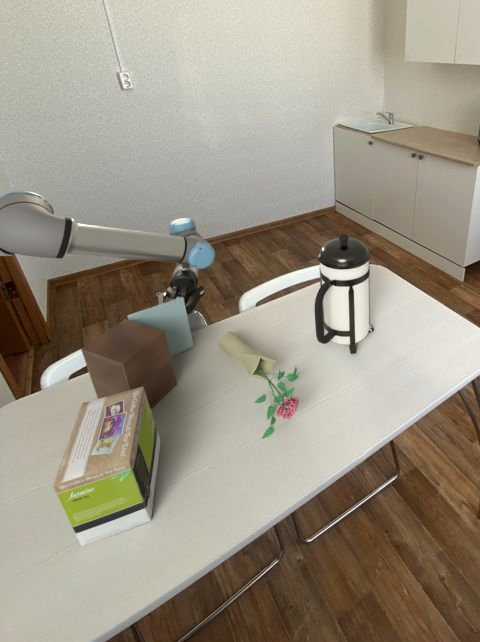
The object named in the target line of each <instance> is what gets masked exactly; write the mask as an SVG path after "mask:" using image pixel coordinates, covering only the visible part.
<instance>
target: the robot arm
mask: <svg viewBox="0 0 480 642" xmlns="http://www.w3.org/2000/svg"><path fill="white" fill-rule="evenodd" d="M168 229H169V230H168V231H169V234H164V233H158V232H149V231H142V230H133V229H125V228H124V229H123V228H117V227H108V226H101V225H94V224H93V225H92V224H84V223H77V222H76V220H75V219H74V218H70V217H63V216H59V215H56V214H55V210H54V208H53V206H52V204H50V202H49V201H48V200H47V199H46V197H44V196H42V195H41V194H39V193H36V192H33V191H30V190H13V191H9V192H7V193H5V194H3V195H1V196H0V257H11V256H13V255H19V256H25V257H27V256H28V257H33V258H34V257H35V258H46V259H59V260H61V259H62V260H63V259H66V258H67V257H69V256H78V257H79V256H81V257H92V258H93V257H94V258H108V259H120V260H121V259H122V260H136V261H147V262H161V263H173V264H174V263H175V268H174V271H173V273H172V276H171V279H170V282H169V286H168V287H167V289H166V290H165V292H163V293H161V292H159V291H158V292H156V293H155V298H156V301H157V305H160V304H163V303H165V302H166V299H167V298H168V300H169V301H172V300H175V299H176V297H180V298H181V297H183V298H184V303H185V307H186V312H187V315H191V314H192V313H193V312H194V310H195V309H196V307H197V305H198V303H199V301H200V300H201V298H202V297H203V296H205V294H206V293H205V288H204V287H205V286H203V285H201V286H199V287H198V284H199V279H200V275H201V272H202V270H205V269H207V268H209V267H211V265H212V264H213V263H214V261H215V259H216V251H215V249H214V247H213V246H212V244H211V243H210V242H208V241H207V240H206V239H204V237H202V235H201V234H200V233H199V232H198V231H197V226H196V224H195V221H194V219H192V218H190V217H181V218H177V219H175V220H173V221H171V222H170V223H169V224H168ZM169 301H168V302H169Z"/></svg>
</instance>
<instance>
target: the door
mask: <svg viewBox="0 0 480 642" xmlns="http://www.w3.org/2000/svg"><path fill="white" fill-rule="evenodd" d="M127 320H130V321H133V322H136V323H140V324H143V325H146V326H149V327H153V328H156V329H159V330H162V331H165V335H166V339H167V343H168V348H169V352H170V356H171V357H173V356H174V355H177V354H179V353H182V352H184V351H186V350H189V349H192V348H194V341H193V336H192V332H191V327H190V323H189V317H188V314H187V312H186V307H185V303H184V298H183V297H181V298H180V297H176V299H175V300H172V301H165V302H164V303H163V304H160V305H158V304H157V305H154V306H150V307H148V308H145V309H142V310H139V311H136V312H134V313H133V312H132V313H130V314H128V315H127Z"/></svg>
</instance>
